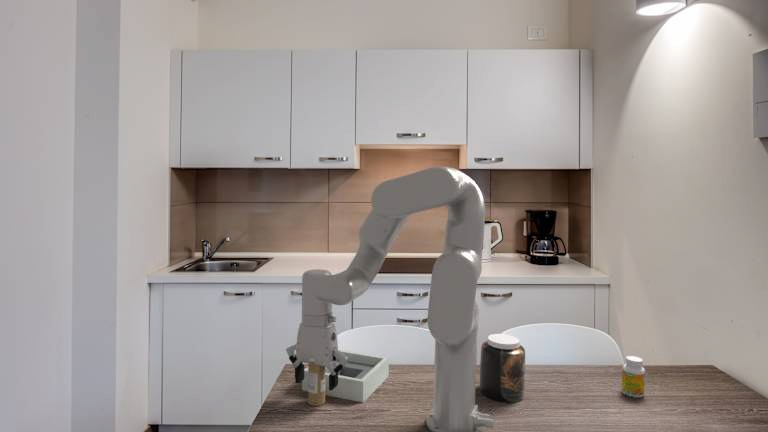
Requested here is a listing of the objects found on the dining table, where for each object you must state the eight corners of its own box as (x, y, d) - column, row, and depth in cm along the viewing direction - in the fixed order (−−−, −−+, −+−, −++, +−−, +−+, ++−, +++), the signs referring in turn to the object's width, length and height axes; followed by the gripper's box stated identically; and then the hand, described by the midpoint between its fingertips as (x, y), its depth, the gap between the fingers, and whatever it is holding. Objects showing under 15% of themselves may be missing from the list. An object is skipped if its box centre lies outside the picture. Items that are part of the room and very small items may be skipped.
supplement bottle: (621, 395, 127) (622, 360, 126) (621, 387, 132) (623, 353, 131) (643, 399, 124) (645, 363, 124) (643, 391, 129) (645, 357, 129)
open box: (388, 376, 137) (388, 357, 137) (363, 402, 121) (363, 381, 120) (333, 366, 144) (333, 348, 143) (302, 390, 127) (302, 370, 127)
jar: (474, 397, 124) (476, 341, 123) (484, 380, 135) (486, 329, 134) (520, 406, 120) (522, 349, 118) (527, 388, 130) (529, 335, 129)
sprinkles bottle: (328, 403, 120) (329, 352, 119) (312, 408, 117) (312, 355, 116) (320, 396, 124) (321, 346, 123) (304, 401, 121) (304, 349, 120)
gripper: (354, 319, 119) (353, 385, 120) (295, 311, 125) (295, 373, 127) (340, 327, 112) (339, 397, 113) (279, 318, 119) (278, 384, 120)
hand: (316, 384), depth 120 cm, fingers open, 9 cm apart
